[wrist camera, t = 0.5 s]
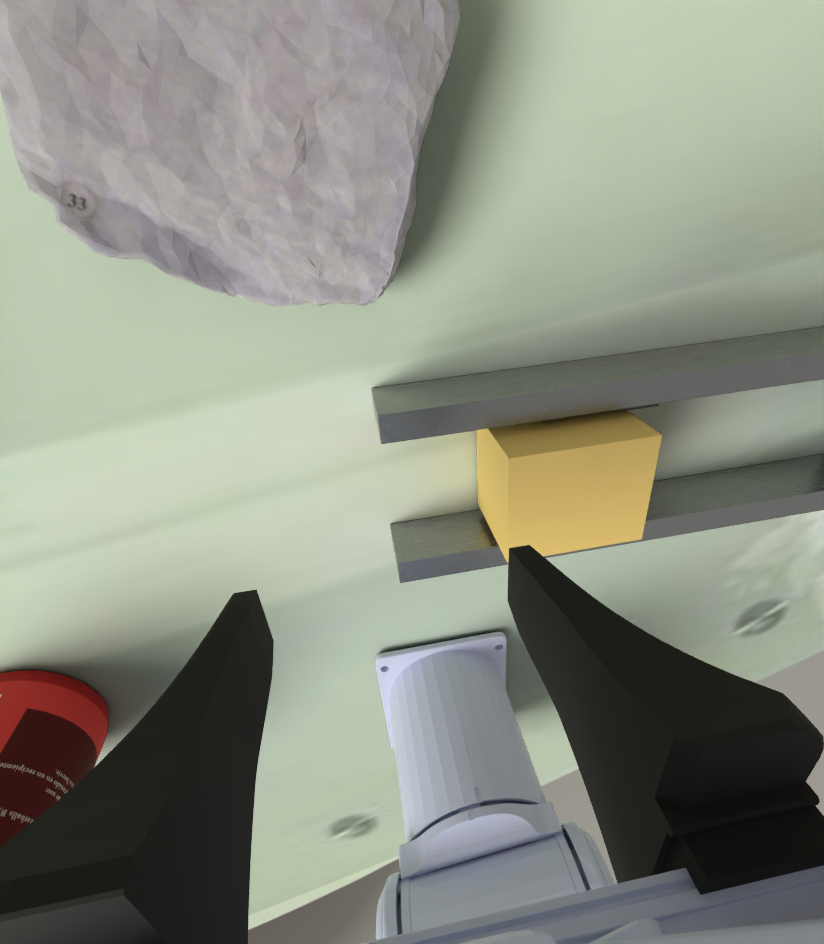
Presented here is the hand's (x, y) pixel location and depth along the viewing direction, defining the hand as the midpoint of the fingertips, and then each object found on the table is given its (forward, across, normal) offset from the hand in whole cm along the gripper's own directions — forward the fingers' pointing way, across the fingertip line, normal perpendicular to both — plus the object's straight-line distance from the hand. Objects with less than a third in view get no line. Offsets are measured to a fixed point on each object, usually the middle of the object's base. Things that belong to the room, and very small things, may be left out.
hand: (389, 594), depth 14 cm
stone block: (+10, +2, -12) cm, 16 cm away
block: (+9, -8, +1) cm, 12 cm away
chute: (+9, -13, +1) cm, 16 cm away
